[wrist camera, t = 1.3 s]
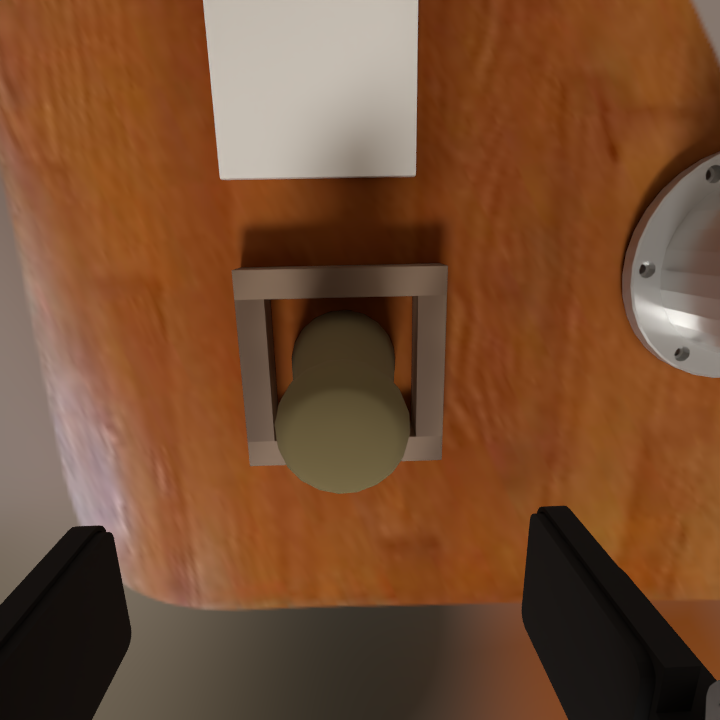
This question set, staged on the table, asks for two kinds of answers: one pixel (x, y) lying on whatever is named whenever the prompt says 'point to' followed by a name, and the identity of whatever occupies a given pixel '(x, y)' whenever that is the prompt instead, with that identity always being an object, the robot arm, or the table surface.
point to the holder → (341, 282)
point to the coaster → (313, 87)
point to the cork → (342, 405)
